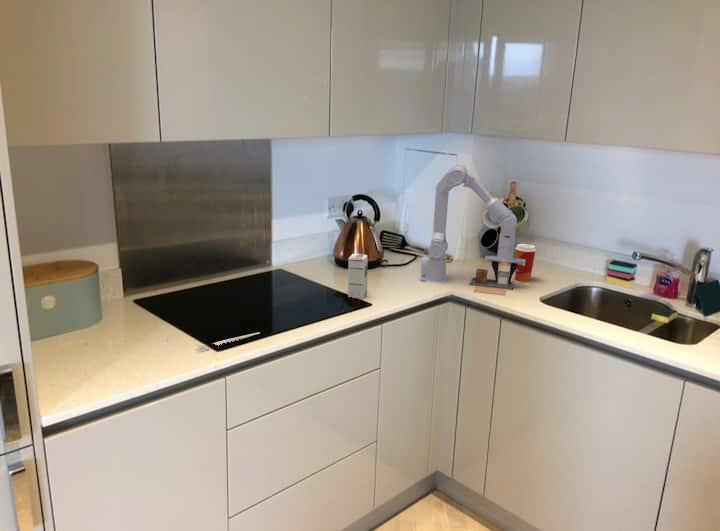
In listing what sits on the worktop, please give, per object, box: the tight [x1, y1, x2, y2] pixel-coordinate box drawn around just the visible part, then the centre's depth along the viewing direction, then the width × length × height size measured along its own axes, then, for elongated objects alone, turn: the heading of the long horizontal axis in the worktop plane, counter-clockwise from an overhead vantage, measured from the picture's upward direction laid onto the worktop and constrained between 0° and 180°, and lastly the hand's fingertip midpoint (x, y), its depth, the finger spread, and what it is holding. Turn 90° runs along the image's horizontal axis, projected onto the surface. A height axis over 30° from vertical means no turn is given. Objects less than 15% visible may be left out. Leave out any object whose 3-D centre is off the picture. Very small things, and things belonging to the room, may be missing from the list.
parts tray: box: [469, 276, 514, 291], centre depth 223 cm, size 16×8×1 cm, turn 74°
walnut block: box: [474, 268, 489, 284], centre depth 224 cm, size 4×4×5 cm
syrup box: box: [347, 253, 369, 300], centre depth 206 cm, size 6×6×14 cm
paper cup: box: [514, 243, 537, 283], centre depth 228 cm, size 8×8×14 cm
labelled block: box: [497, 270, 510, 287], centre depth 222 cm, size 4×4×5 cm
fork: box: [195, 332, 260, 351], centre depth 167 cm, size 3×20×2 cm, turn 133°
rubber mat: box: [473, 286, 507, 297], centre depth 216 cm, size 11×7×1 cm, turn 74°
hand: (502, 281), depth 222 cm, fingers closed on labelled block, 4 cm apart
